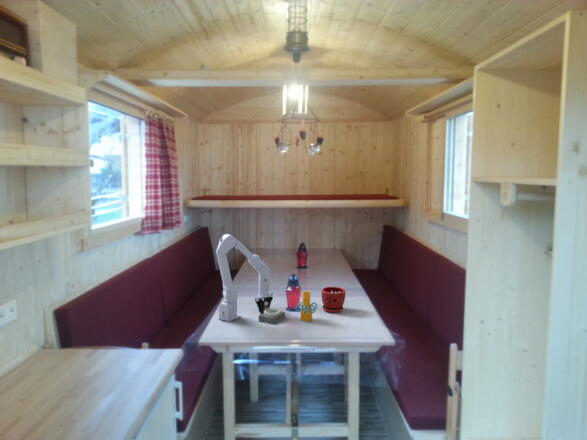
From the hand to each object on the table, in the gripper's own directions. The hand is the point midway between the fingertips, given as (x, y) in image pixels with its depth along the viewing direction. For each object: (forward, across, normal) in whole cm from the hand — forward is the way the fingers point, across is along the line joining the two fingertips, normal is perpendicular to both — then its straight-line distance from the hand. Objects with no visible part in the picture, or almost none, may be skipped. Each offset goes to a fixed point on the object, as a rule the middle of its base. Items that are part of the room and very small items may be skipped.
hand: (264, 311), depth 236 cm
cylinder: (+2, +4, -24) cm, 25 cm away
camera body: (+1, -6, -9) cm, 11 cm away
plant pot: (+2, +24, -30) cm, 38 cm away
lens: (+1, 0, 0) cm, 1 cm away
